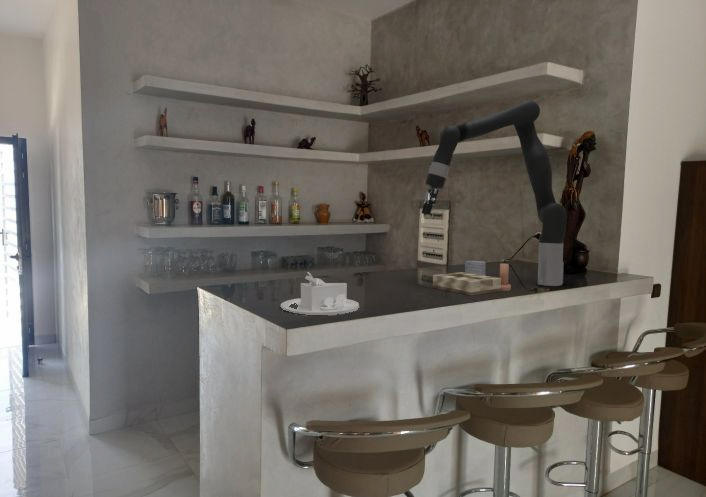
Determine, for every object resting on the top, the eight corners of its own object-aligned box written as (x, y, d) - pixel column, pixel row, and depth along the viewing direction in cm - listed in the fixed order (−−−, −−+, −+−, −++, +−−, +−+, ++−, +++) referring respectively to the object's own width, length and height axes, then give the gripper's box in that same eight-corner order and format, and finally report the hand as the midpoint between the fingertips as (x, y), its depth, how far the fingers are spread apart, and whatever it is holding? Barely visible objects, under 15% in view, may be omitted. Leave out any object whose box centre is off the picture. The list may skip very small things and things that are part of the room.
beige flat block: (432, 287, 201) (433, 275, 200) (461, 284, 210) (462, 272, 209) (471, 295, 184) (471, 281, 184) (500, 291, 193) (501, 278, 193)
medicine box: (485, 281, 217) (486, 261, 216) (483, 283, 213) (484, 262, 212) (466, 280, 221) (467, 260, 220) (464, 281, 217) (465, 261, 216)
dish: (294, 319, 146) (294, 280, 145) (272, 303, 169) (271, 270, 168) (371, 312, 156) (372, 276, 155) (340, 298, 179) (341, 266, 178)
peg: (502, 288, 201) (503, 262, 200) (513, 290, 196) (514, 264, 195) (493, 289, 198) (494, 263, 197) (504, 291, 193) (505, 265, 193)
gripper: (449, 176, 199) (437, 216, 200) (442, 179, 213) (431, 216, 214) (431, 171, 199) (419, 211, 200) (425, 173, 213) (414, 211, 214)
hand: (425, 213), depth 207 cm, fingers open, 8 cm apart
